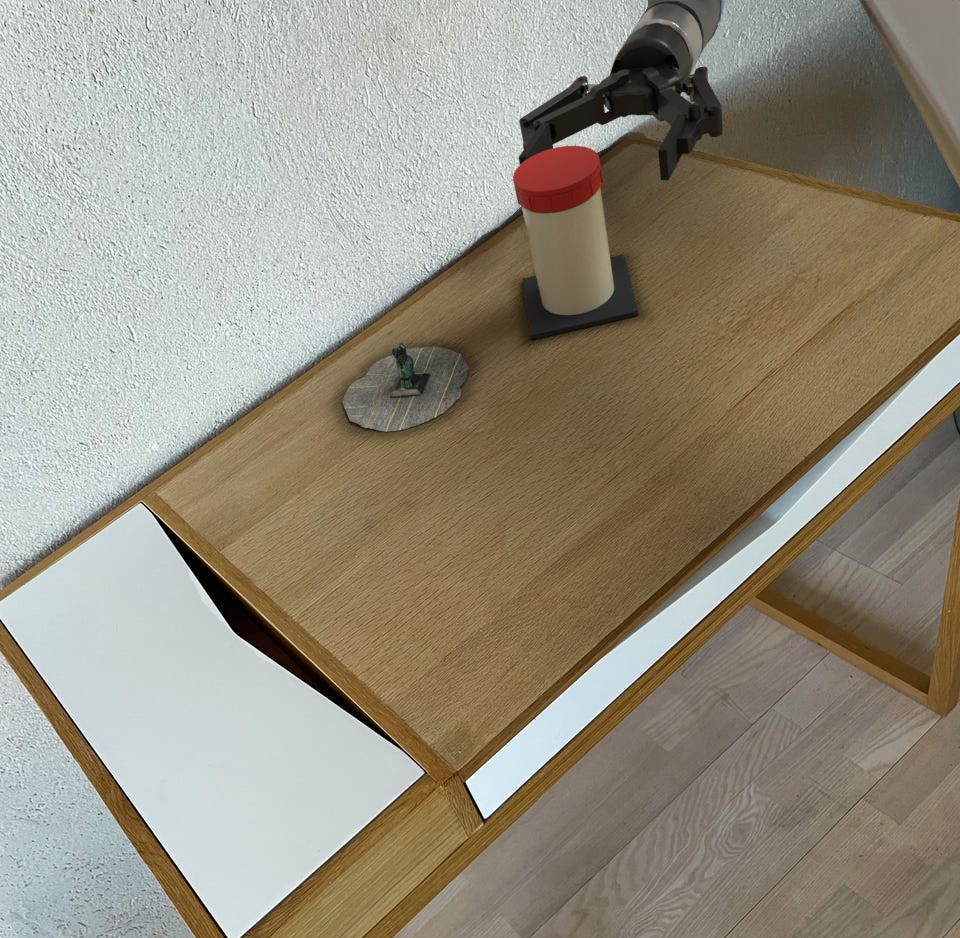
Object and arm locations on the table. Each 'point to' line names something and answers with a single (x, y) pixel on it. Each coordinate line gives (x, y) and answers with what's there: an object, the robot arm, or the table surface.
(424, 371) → the sculpture
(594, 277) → the jar
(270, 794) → the table surface
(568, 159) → the lid
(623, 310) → the mat
